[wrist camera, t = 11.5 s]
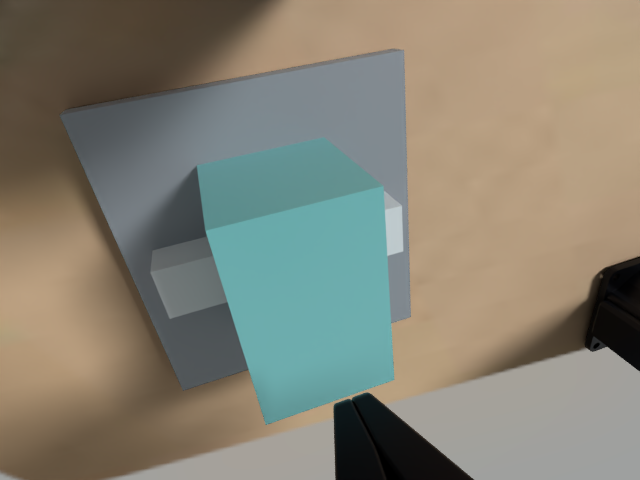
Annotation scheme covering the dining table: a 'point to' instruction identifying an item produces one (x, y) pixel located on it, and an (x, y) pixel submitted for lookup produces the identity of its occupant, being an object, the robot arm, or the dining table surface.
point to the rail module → (302, 271)
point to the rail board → (222, 143)
